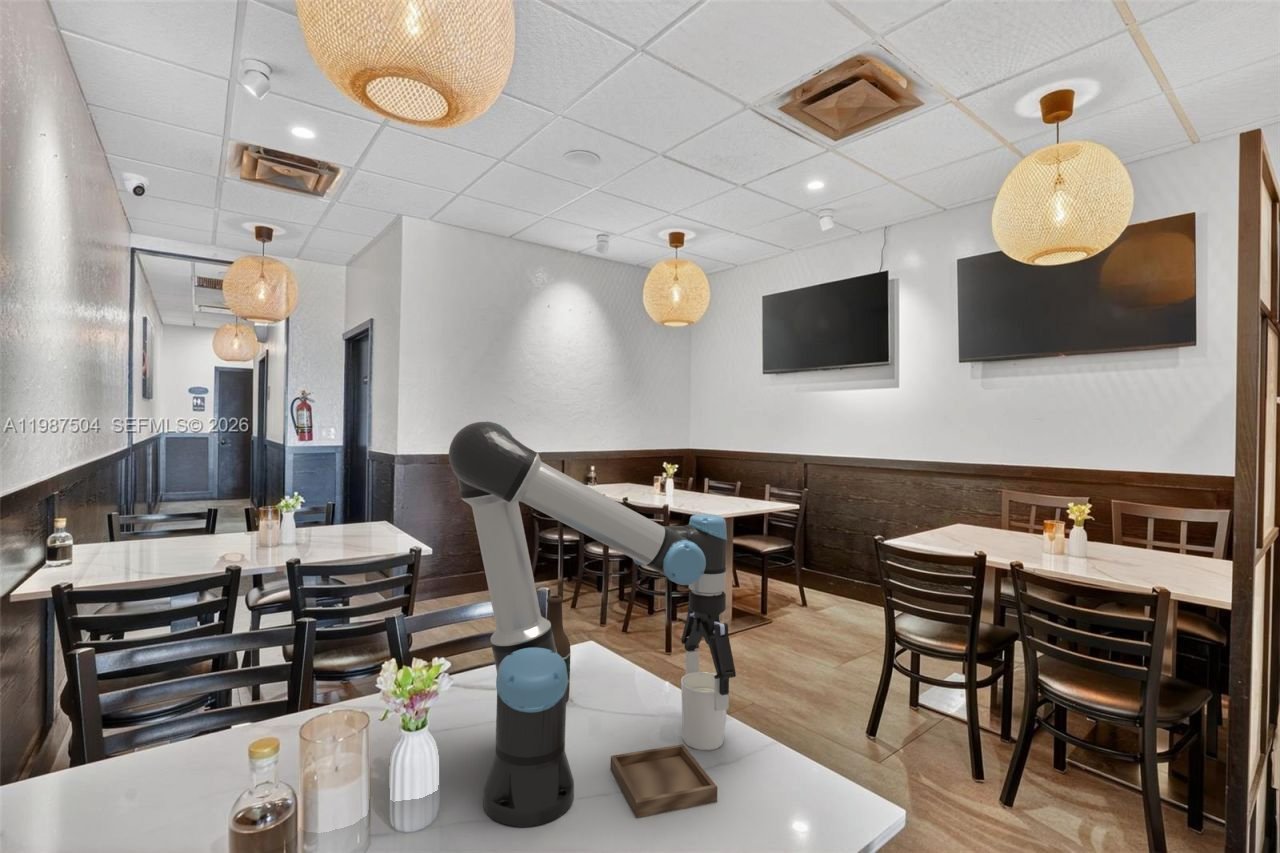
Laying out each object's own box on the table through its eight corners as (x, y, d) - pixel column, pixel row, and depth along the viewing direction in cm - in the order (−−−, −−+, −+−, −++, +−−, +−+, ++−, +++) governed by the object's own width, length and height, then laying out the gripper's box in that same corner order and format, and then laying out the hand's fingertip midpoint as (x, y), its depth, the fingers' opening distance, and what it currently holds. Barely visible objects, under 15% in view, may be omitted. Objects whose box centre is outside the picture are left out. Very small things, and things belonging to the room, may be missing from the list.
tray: (636, 818, 97) (636, 802, 97) (610, 769, 111) (610, 755, 111) (717, 801, 102) (717, 786, 102) (682, 757, 116) (682, 744, 116)
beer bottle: (551, 690, 144) (554, 590, 144) (576, 699, 139) (579, 596, 139) (528, 701, 137) (531, 597, 138) (552, 711, 133) (555, 603, 133)
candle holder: (726, 729, 127) (727, 673, 127) (728, 754, 117) (730, 693, 117) (680, 726, 128) (681, 670, 128) (678, 750, 118) (680, 689, 118)
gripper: (754, 606, 112) (753, 719, 112) (697, 575, 136) (696, 669, 136) (718, 610, 110) (717, 726, 110) (667, 577, 133) (666, 673, 133)
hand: (706, 694), depth 123 cm, fingers open, 13 cm apart
